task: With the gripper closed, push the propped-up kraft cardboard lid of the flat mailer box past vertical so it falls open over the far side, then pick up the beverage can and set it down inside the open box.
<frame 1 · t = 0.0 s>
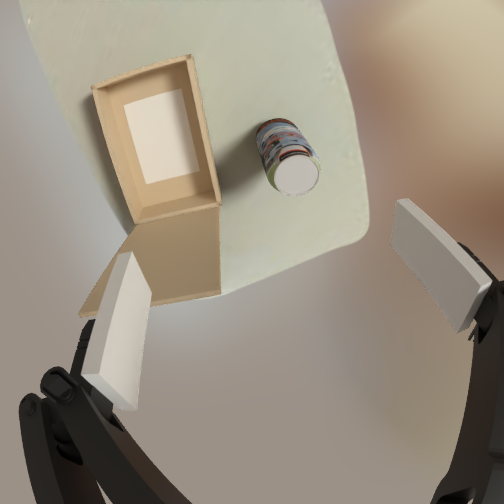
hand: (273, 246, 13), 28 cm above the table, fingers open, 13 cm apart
mailer box: (162, 136, 35), on the table
beverage can: (275, 141, 38), on the table
lid: (163, 248, 28), point 15 cm above the table, hinge at 80.0°
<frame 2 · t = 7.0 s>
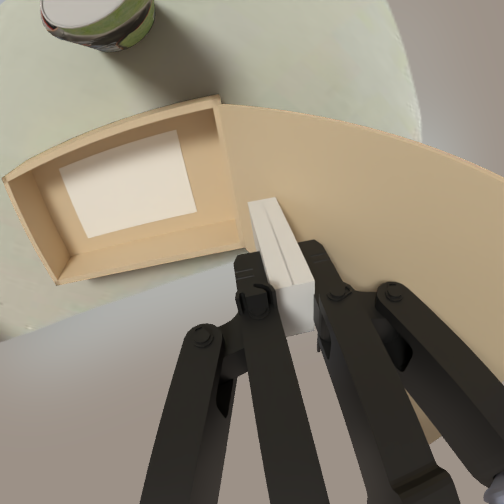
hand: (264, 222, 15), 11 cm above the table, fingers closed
mailer box: (126, 186, 24), on the table
beverage can: (130, 20, 16), on the table
lid: (323, 244, 13), point 14 cm above the table, hinge at 109.8°, touching gripper
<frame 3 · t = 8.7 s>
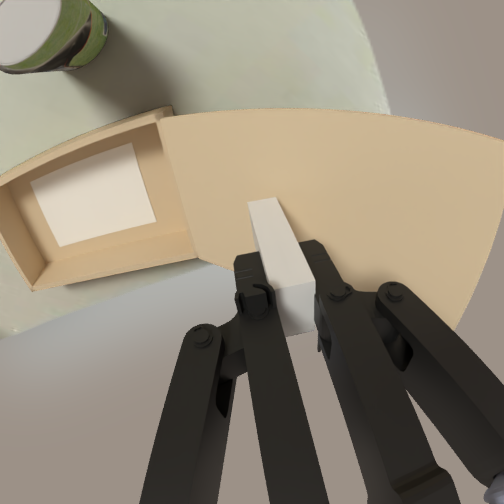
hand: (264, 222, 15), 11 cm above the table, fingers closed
mailer box: (90, 197, 24), on the table
beverage can: (87, 37, 16), on the table
lid: (305, 217, 15), point 12 cm above the table, hinge at 137.3°
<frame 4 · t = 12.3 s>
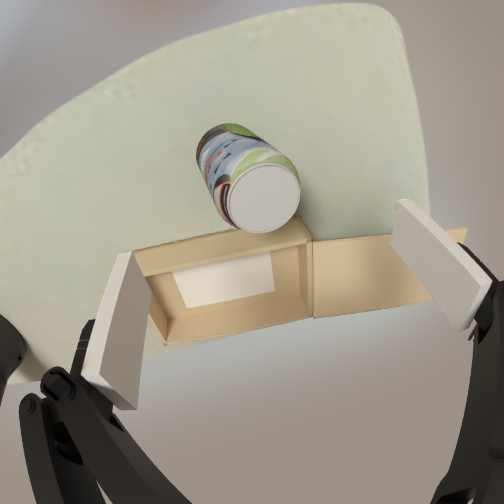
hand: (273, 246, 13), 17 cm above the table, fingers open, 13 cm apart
mailer box: (223, 274, 36), on the table
beverage can: (234, 150, 27), on the table
lid: (391, 274, 31), point 7 cm above the table, hinge at 170.1°
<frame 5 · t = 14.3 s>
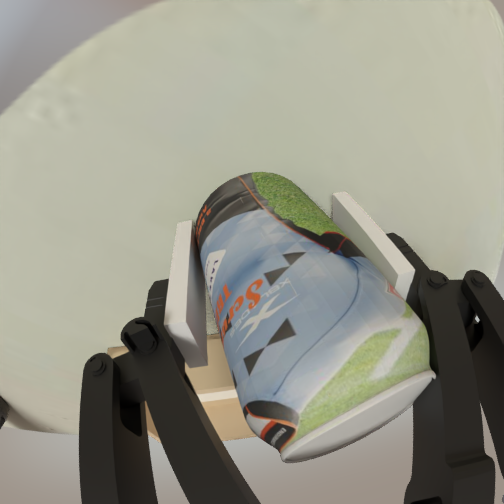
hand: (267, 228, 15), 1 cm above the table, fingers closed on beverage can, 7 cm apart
mailer box: (239, 372, 24), on the table
beverage can: (263, 216, 16), on the table, touching gripper
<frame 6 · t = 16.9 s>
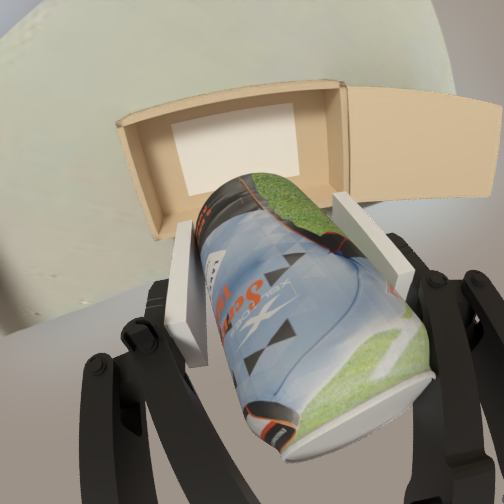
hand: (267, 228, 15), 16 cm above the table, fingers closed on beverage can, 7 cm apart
mailer box: (238, 147, 28), on the table
beverage can: (264, 217, 16), point 15 cm above the table, touching gripper
lid: (436, 147, 23), point 7 cm above the table, hinge at 170.1°
when the fingers open (4 cm above the table, at t = 19.5 s): beverage can drops 2 cm, resting on mailer box.
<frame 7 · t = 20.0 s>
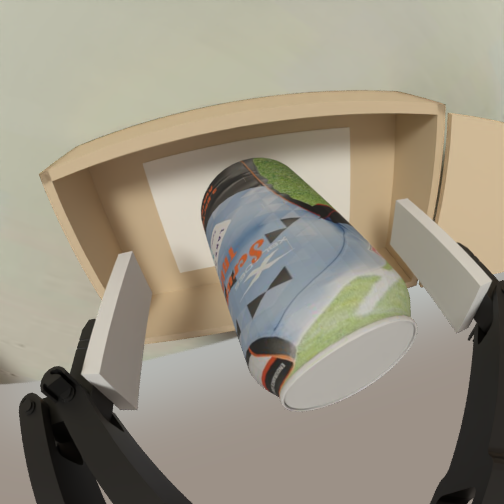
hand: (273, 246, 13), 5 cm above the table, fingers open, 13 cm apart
mailer box: (256, 199, 18), on the table
beverage can: (262, 199, 17), resting on mailer box
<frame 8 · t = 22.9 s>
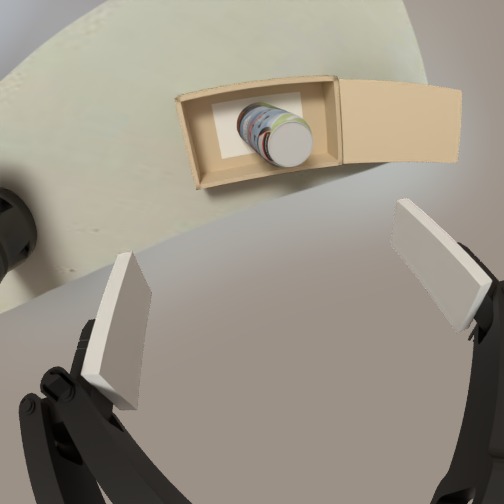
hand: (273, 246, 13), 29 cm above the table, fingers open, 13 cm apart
mailer box: (259, 123, 37), on the table
beverage can: (262, 123, 36), resting on mailer box
lid: (407, 122, 32), point 7 cm above the table, hinge at 170.1°
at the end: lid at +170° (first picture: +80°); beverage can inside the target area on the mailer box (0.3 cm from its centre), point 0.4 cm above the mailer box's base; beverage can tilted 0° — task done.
